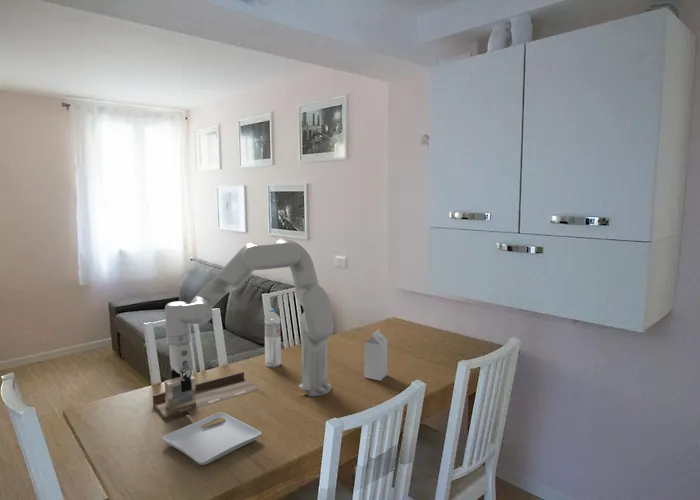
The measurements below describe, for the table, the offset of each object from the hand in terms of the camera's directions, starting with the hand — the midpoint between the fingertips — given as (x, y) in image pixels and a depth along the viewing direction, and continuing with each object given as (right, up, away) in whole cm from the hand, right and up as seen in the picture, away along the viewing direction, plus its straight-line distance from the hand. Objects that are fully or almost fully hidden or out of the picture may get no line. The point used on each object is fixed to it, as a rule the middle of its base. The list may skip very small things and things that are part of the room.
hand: (181, 386), depth 155 cm
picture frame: (-1, -7, +1) cm, 7 cm away
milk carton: (+69, -5, +29) cm, 75 cm away
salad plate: (+17, -11, -21) cm, 29 cm away
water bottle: (+24, -4, +41) cm, 48 cm away
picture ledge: (+7, -7, +8) cm, 13 cm away
